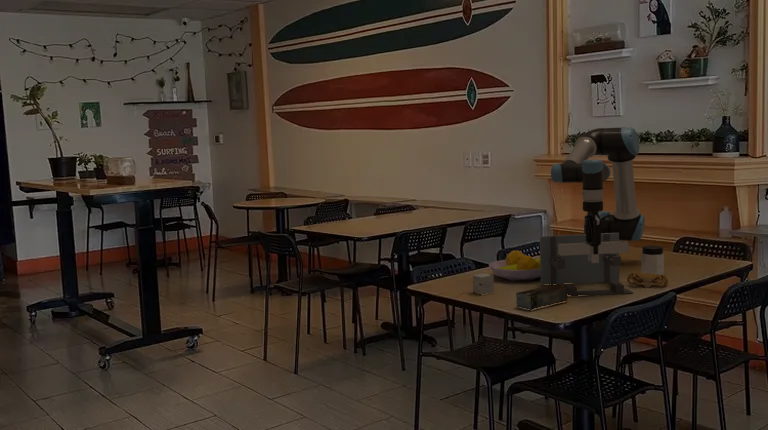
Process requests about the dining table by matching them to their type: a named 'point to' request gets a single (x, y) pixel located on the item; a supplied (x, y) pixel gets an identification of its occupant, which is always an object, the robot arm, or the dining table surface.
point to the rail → (586, 248)
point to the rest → (614, 290)
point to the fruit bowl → (517, 267)
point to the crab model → (647, 279)
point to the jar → (652, 260)
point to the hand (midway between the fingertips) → (593, 261)
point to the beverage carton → (541, 296)
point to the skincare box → (483, 283)
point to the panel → (576, 262)
